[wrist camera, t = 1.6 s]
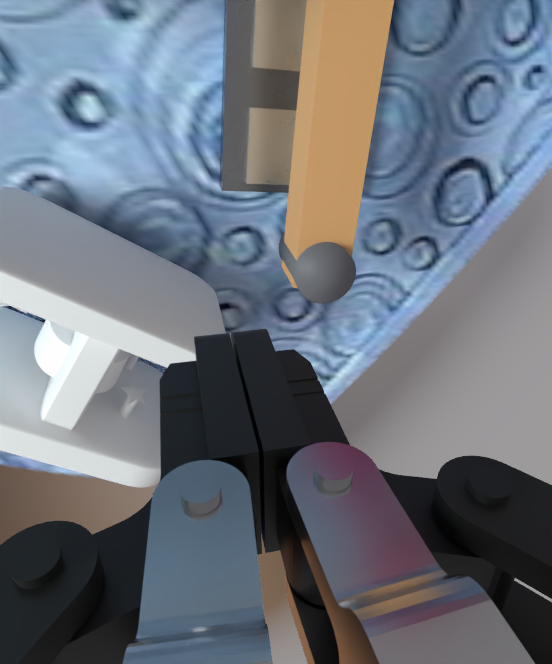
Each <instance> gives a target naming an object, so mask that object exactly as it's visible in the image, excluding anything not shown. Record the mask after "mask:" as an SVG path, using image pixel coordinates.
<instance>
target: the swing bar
mask: <svg viewBox="0 0 552 664" xmlns="http://www.w3.org/2000/svg"><path fill="white" fill-rule="evenodd" d="M393 4H394V0H307V4H306V15H305V25H304V36H303V46H302V57H301V67H300V78H299V89H298V99H297V110H296V120H295V131H294V141H293V152H292V162H291V173H290V184H289V194H288V205H287V215H286V226H285V232H284V233H283V235H282V237H281V239H280V243H279V254H280V257H281V259H282V268H283V270H284V272H285V274H286V275H287V277H288V279H289V281H290V283H291V284H292V286H293V288H298V289H299V291H300V292H301V294H302V295H303V296H304V297H305V298H306V299H308V300H310V301H312V302H315V303H330V302H333V301H335V300H338V299H339V298H341V297H342V296H344V295H345V294H346V293H347V292H348V290H349V289H350V288H351V286H352V284H353V282H354V280H355V275H356V267H355V263H354V260H353V258H352V251H353V245H354V239H355V233H356V227H357V221H358V215H359V209H360V203H361V197H362V191H363V185H364V179H365V173H366V167H367V161H368V155H369V149H370V143H371V137H372V131H373V125H374V119H375V113H376V107H377V101H378V95H379V89H380V83H381V77H382V71H383V65H384V59H385V53H386V47H387V41H388V34H389V28H390V22H391V16H392V10H393Z"/></svg>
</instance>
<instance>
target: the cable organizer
mask: <svg viewBox="0 0 552 664" xmlns="http://www.w3.org/2000/svg"><path fill="white" fill-rule="evenodd" d="M4 306H12V307H14V308H16V309H18V310H20V311H22V312H24V313H26V314H27V312H28V313H31V314H33V315H36V316H38V317H41V318H43V319H46V321H45V323H43V322H41V321H38V320H36V319H33V318H31V317H28V316H26V315H23V314H21V313H18V312H16V311H13V310H11V309H8V308H6V307H4ZM223 333H226V332H225V328H224V324H223V320H222V315H221V311H220V307H219V303H218V299H217V295H216V293H215V291H214V290H213V288H212V287H211V286H210V285H209V284H207V283H206V282H205V281H204V280H202V279H201V278H200V277H198V276H197V275H195V274H193V273H192V272H190V271H188V270H186V269H184V268H182V267H180V266H178V265H176V264H174V263H172V262H170V261H168V260H166V259H164V258H162V257H160V256H158V255H156V254H154V253H152V252H150V251H148V250H146V249H144V248H142V247H140V246H138V245H136V244H134V243H132V242H130V241H128V240H126V239H124V238H122V237H120V236H118V235H116V234H114V233H112V232H110V231H108V230H106V229H104V228H102V227H100V226H98V225H96V224H94V223H92V222H90V221H88V220H86V219H84V218H82V217H80V216H78V215H76V214H74V213H72V212H70V211H68V210H66V209H64V208H62V207H60V206H58V205H56V204H54V203H52V202H50V201H48V200H46V199H44V198H42V197H40V196H37V195H35V194H33V193H30V192H27V191H24V190H21V189H17V188H13V187H0V450H1V451H4V452H8V453H12V454H15V455H19V456H22V457H26V458H30V459H33V460H37V461H40V462H44V463H48V464H51V465H55V466H58V467H62V468H66V469H69V470H73V471H76V472H80V473H84V474H87V475H91V476H94V477H98V478H102V479H105V480H109V481H112V482H116V483H120V484H123V485H127V486H132V487H149V486H153V485H155V484H157V483H159V482H160V476H161V456H160V378H161V377H162V375H163V374H162V373H161V372H160V371H159V370H157V369H156V368H154V367H152V366H151V365H149V364H147V363H144V362H142V361H139V360H138V359H139V357H141V358H144V359H146V360H149V361H151V362H153V364H155V363H156V364H159V365H161V366H164V367H166V368H168V366H169V364H171V363H180V362H188V361H196V355H195V345H194V337H195V336H204V335H214V334H223Z"/></svg>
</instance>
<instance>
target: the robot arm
mask: <svg viewBox="0 0 552 664" xmlns="http://www.w3.org/2000/svg"><path fill="white" fill-rule="evenodd" d="M194 345H195V355H196V361H188V362H180V363H171V364H169V366H168V368H167V369H166V371H165V372H164V374H163V375H162V377H161V378H160V456H161V476H160V482H159V484H158V485H157V487H156V488H155V491H154V493H153V497H152V498H151V499H150V501H149V502H148V503H147V504H146V505H145V506H144V507H143V508H142V509H141V510H139V511H138V512H137V513H135V514H134V515H132V516H131V517H129V518H128V519H126V520H124V521H122V522H120V523H118V524H115V525H113V526H111V527H109V528H106V529H104V530H102V531H100V532H98V533H95V534H93V535H92V534H91V533H90V532H89V531H88V530H87V529H86V528H84V527H82V526H81V525H79V524H76V523H73V522H68V521H52V522H45V523H41V524H37V525H34V526H32V527H29V528H27V529H24V530H22V531H20V532H19V533H17V534H15V535H14V536H12V537H11V538H9V539H8V540H6V542H4V543H3V544H1V545H0V664H273V663H272V655H271V647H270V639H269V634H268V627H267V624H266V623H265V618H264V610H263V601H262V592H261V583H260V574H259V565H258V556H257V555H258V554H262V544H261V534H262V538H263V542H264V547H265V552H266V553H267V552H273V551H278V550H280V551H281V555H282V559H283V563H284V567H285V591H286V596H287V600H288V603H289V606H290V609H291V612H292V616H293V619H294V622H295V625H296V628H297V631H298V634H299V638H300V641H301V644H302V647H303V650H304V653H305V656H306V659H307V662H308V664H552V603H551V602H550V601H548V600H547V599H545V598H543V597H541V596H540V595H538V594H536V593H535V592H533V591H531V590H530V589H528V588H526V587H524V586H523V585H521V584H519V583H518V582H516V581H514V579H515V578H517V579H518V580H520V581H522V582H524V583H525V584H527V585H529V586H530V587H532V588H534V589H536V590H537V591H539V592H541V593H543V594H544V595H546V596H548V597H550V598H551V599H552V485H550V484H548V483H545V482H543V481H541V480H539V479H537V478H535V477H533V476H530V475H528V474H526V473H524V472H522V471H520V470H517V469H515V468H513V467H511V466H508V465H507V464H504V463H502V462H499V461H497V460H494V459H490V458H487V457H481V456H462V457H457V458H455V459H452V460H450V461H449V462H447V463H445V464H444V465H443V466H442V467H441V469H440V471H439V473H438V477H437V479H430V478H422V477H412V476H402V475H395V474H391V473H388V472H384V471H382V470H379V469H378V468H377V466H376V465H375V463H374V462H373V461H372V459H371V458H370V457H369V456H367V455H366V454H365V453H364V452H362V451H361V450H359V449H357V448H355V447H353V446H350V444H349V442H348V440H347V438H346V436H345V434H344V432H343V430H342V428H341V425H340V423H339V421H338V419H337V417H336V415H335V413H334V411H333V409H332V407H331V405H330V403H329V400H328V398H327V396H326V394H324V390H323V388H322V386H321V384H320V382H319V381H318V378H317V376H316V373H315V371H314V369H313V367H312V365H311V363H310V362H309V361H308V360H307V359H306V358H304V357H303V356H302V355H300V354H299V353H298V352H296V351H295V350H294V349H293V350H284V351H275V349H274V347H273V344H272V342H271V339H270V336H269V334H268V331H267V330H266V329H260V330H251V331H241V332H232V333H231V339H230V335H229V333H223V334H214V335H204V336H195V337H194Z"/></svg>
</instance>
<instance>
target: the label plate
mask: <svg viewBox="0 0 552 664" xmlns="http://www.w3.org/2000/svg"><path fill="white" fill-rule="evenodd" d="M306 4H307V0H225V17H224V53H223V89H222V125H221V160H220V187H221V190H224V191H255V192H286V193H289V184H290V173H291V162H292V152H293V141H294V131H295V120H296V110H297V99H298V89H299V78H300V67H301V57H302V46H303V36H304V25H305V15H306Z"/></svg>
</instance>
